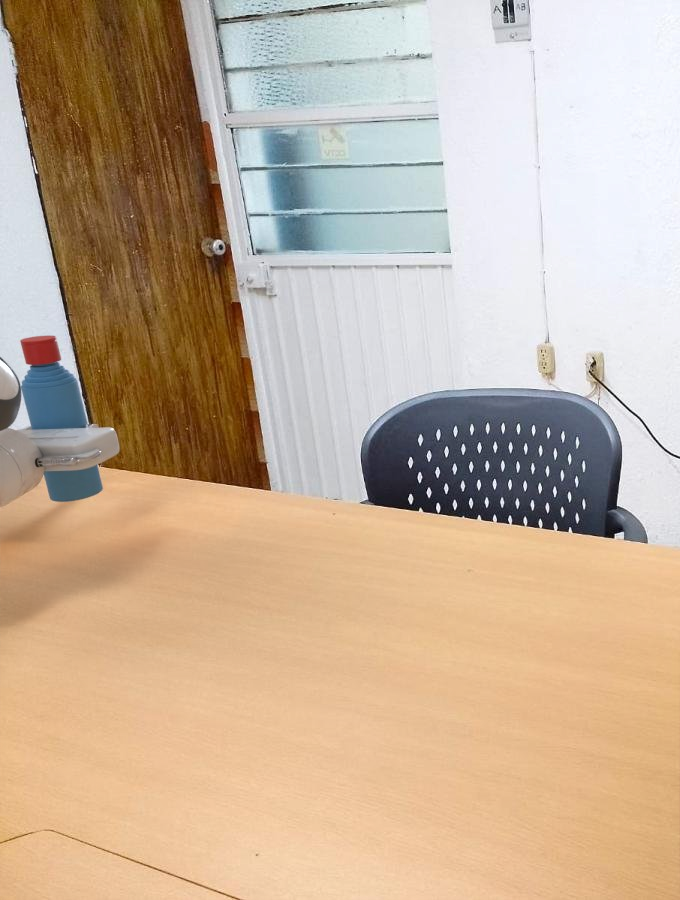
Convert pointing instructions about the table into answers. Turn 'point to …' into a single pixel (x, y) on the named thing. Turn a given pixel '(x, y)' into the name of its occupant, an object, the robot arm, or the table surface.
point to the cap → (40, 350)
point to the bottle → (59, 425)
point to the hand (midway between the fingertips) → (65, 430)
